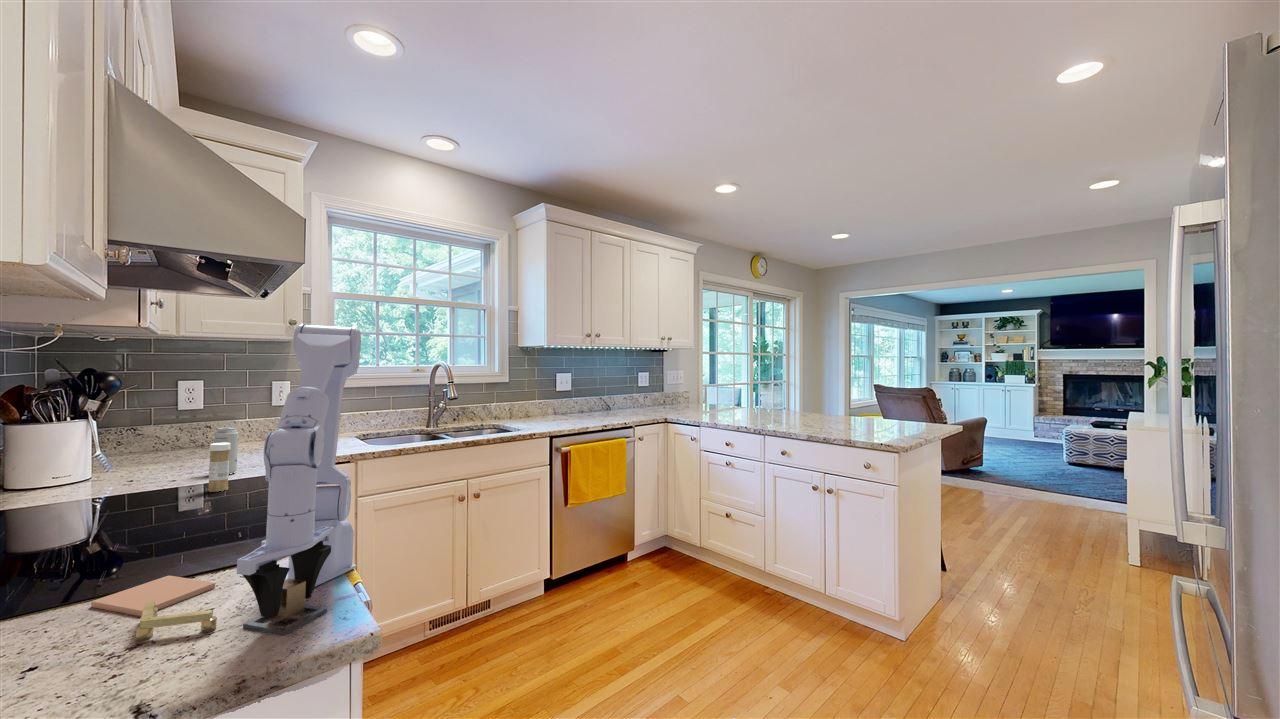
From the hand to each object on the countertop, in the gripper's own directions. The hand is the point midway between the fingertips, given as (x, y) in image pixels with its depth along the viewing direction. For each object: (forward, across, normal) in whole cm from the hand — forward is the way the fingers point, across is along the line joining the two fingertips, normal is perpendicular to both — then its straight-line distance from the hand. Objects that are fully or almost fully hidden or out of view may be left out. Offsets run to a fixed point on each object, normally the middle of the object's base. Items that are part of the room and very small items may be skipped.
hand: (287, 606), depth 72 cm
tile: (+2, -2, -25) cm, 25 cm away
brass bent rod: (+2, +6, -13) cm, 15 cm away
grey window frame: (+2, 0, 0) cm, 2 cm away
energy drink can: (+2, -78, -98) cm, 125 cm away
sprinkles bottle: (+2, -60, -79) cm, 99 cm away
